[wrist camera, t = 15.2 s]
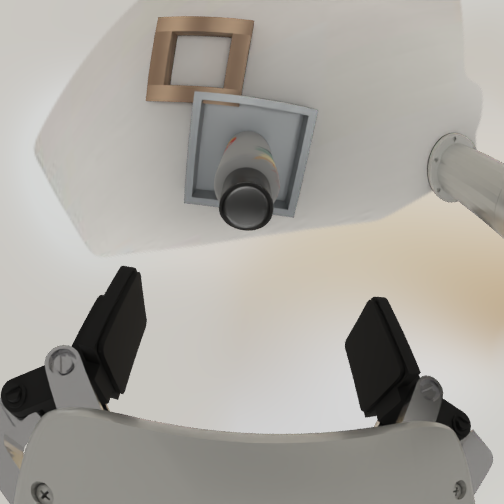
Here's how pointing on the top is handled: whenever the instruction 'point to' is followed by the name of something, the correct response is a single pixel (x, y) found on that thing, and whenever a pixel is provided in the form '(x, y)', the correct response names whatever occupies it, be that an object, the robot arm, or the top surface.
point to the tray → (256, 120)
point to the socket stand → (198, 27)
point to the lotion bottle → (247, 182)
